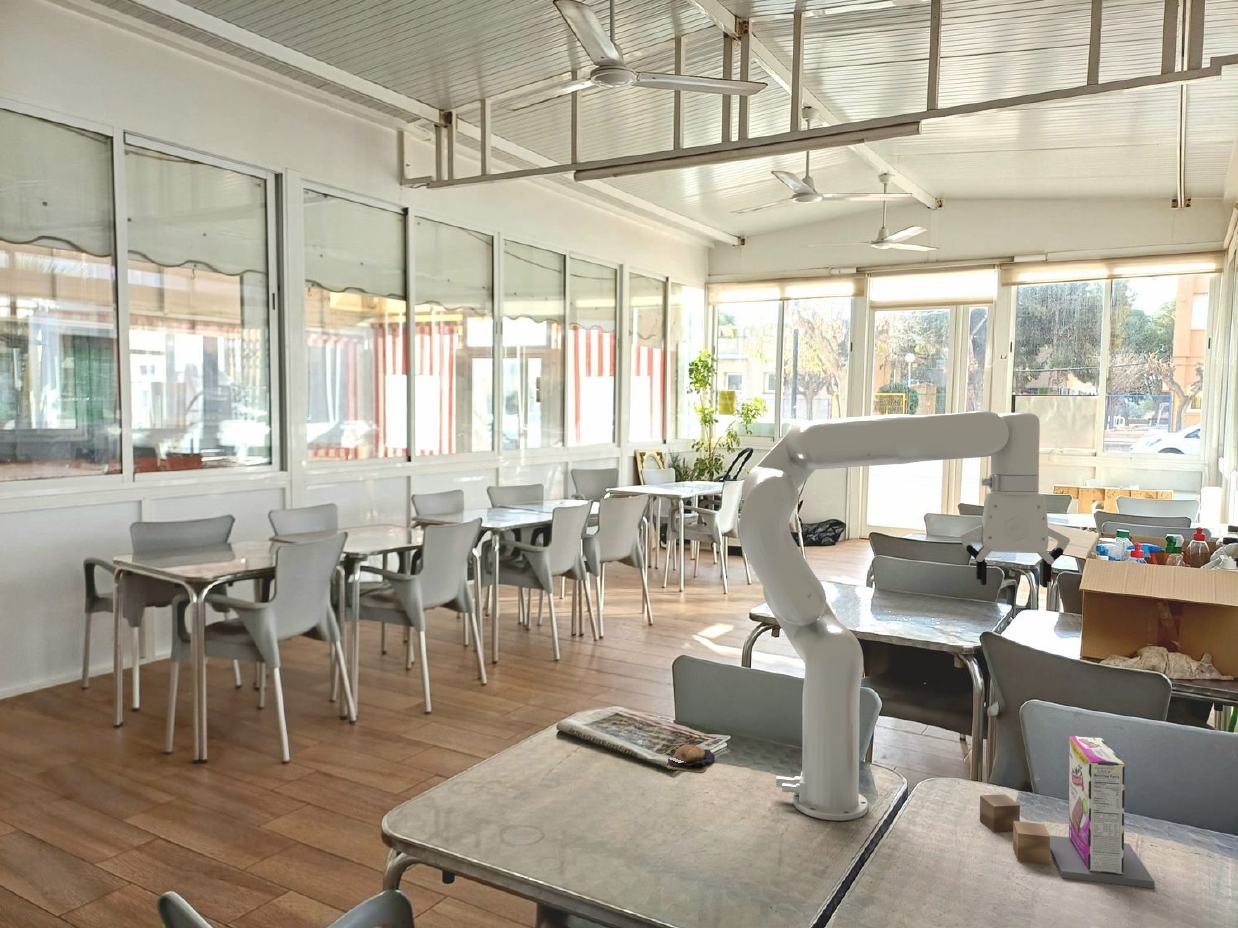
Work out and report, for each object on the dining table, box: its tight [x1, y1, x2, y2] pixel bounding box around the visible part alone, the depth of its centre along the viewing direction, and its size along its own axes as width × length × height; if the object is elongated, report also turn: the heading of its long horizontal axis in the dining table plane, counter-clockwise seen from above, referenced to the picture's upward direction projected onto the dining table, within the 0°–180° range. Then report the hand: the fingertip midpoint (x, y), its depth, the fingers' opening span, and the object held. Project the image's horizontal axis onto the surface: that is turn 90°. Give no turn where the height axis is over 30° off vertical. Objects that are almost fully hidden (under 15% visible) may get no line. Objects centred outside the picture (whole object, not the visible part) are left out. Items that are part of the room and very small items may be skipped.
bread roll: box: [666, 744, 716, 774], centre depth 175 cm, size 11×8×4 cm
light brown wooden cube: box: [1012, 821, 1051, 866], centre depth 136 cm, size 4×4×4 cm
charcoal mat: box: [1049, 834, 1155, 889], centre depth 133 cm, size 12×12×1 cm
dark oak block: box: [979, 793, 1021, 834], centre depth 146 cm, size 4×4×4 cm
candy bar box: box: [1068, 735, 1126, 875], centre depth 133 cm, size 11×5×16 cm, turn 167°
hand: (1013, 585), depth 153 cm, fingers open, 9 cm apart
